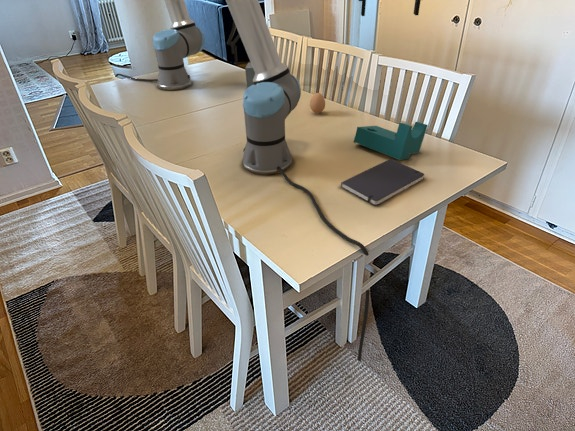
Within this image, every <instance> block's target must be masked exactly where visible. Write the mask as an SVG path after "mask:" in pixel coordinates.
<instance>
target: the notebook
mask: <svg viewBox="0 0 575 431" xmlns="http://www.w3.org/2000/svg"><path fill="white" fill-rule="evenodd" d="M424 176H425V173H424V172H422V171H420V170H417V169H415V168H413V167H410V166H408V165H406V164H404V163H401V162H399V161H397V160H395V159H393V158H389V159H387V160H385V161H382V162H380V163H379V164H377V165H375V166H372V167H370V168H368V169H366V170H364V171H362V172H360V173H358V174H356V175H353V176H351V177H350V178H348V179H345V180H344V181H341V182H340V183H341V184H340V187H341V188H342V189H344V190H345V191H347V192H349V193H350V194H353V195H355V196H356V197H358V198H360V199H362V200H363V201H365V202H367V203H369V204H371V205H373V206H379V205H381V204H382V203H384V202H386V201H388V200H390V199H391V198H393V197H395V196H397V195H398V194H400V193H402V192H404V191H406V190H407V189H409V188H411V187H413V186H415V185H416V184H418V183H420V182H422V181H423V180H424Z"/></svg>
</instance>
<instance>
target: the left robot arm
mask: <svg viewBox="0 0 575 431" xmlns="http://www.w3.org/2000/svg"><path fill="white" fill-rule="evenodd" d="M163 1H164V4H165V8H166V10H167V12H168V15H169V19H170V21H171V25H170V29H169V28H168V29H165V30H159V31H157V32H156V33H154V34H153V36H152V42H153V50H154V53H155V58H156V62H157V67H158V75H157V78H138V77H133V76H129V75H127V74H126V75H125V74H122V73H115V75H114V78H118V76H119V77H122V78H127V79H130V78H131V79H130V80H133V81H139V82H157V87H158V89H160V90H163V91H179V90H183V89H187V88H189V87H190V86H192V80H191V74H188V72H187V69H186V67H185V62H184V59H186V58H188V57H191V56H194V55H195V56H196V55H197V54H199V53H201V52H202V51H203V50H204V48H205V42H206V39H205V38H206V37H205V34H204V31H202V29H200V27H198V26H197V25H196V22H195V21H194V20H193V19H191V17H190V14H189V11H188V8H187V5H186V1H185V0H163ZM236 29H237V27H236V25H235V22H234V21H233V22H232V28H231V31H230V32H229V33H230V34H229V36H228V39H227V40H226V45H227V46H230V48H231V54H232V55H233V56H234V63H237V62H238V49H237V45H236V43H237V42H238V41H239V39H241V37H240V35H239V33H238V34H237V35H236V37H235V38H234V40H233V37H234V34H235V32H236ZM232 40H233V41H232ZM135 78H137V79H135Z"/></svg>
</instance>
